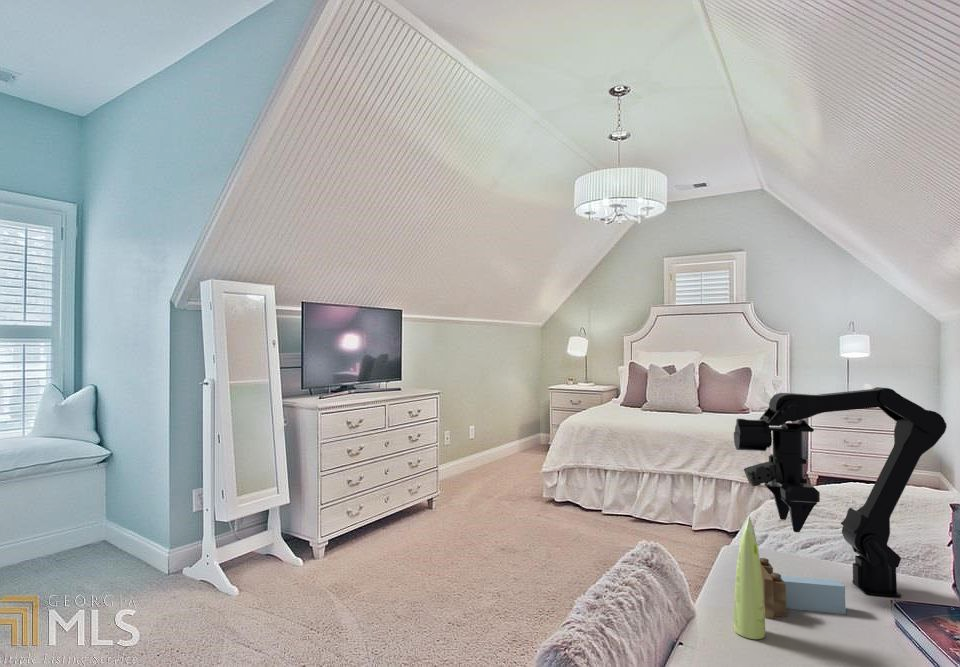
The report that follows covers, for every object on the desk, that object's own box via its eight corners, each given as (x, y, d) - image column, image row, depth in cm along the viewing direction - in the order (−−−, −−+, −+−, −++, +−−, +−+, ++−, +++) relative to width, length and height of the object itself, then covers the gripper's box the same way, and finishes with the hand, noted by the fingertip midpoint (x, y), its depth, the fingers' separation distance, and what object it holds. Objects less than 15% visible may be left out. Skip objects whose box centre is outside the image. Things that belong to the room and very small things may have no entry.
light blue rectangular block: (838, 606, 107) (837, 578, 107) (845, 613, 103) (844, 585, 104) (764, 599, 109) (764, 572, 110) (769, 606, 106) (768, 579, 107)
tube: (775, 640, 93) (772, 522, 94) (749, 643, 92) (747, 524, 93) (751, 624, 99) (749, 513, 100) (726, 627, 98) (724, 515, 99)
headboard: (767, 589, 114) (766, 554, 115) (788, 620, 101) (787, 581, 101) (746, 587, 115) (746, 553, 116) (765, 618, 102) (764, 579, 102)
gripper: (737, 444, 130) (738, 511, 129) (758, 457, 112) (759, 536, 111) (789, 446, 128) (791, 514, 127) (819, 460, 109) (821, 540, 109)
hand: (789, 525), depth 118 cm, fingers open, 9 cm apart
